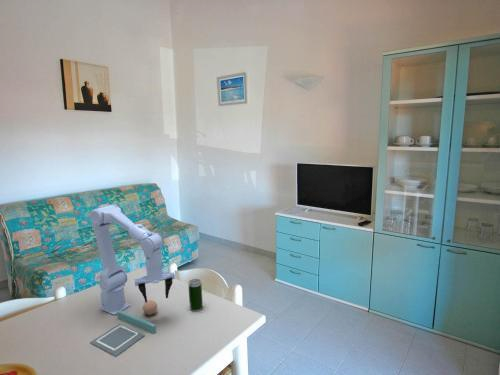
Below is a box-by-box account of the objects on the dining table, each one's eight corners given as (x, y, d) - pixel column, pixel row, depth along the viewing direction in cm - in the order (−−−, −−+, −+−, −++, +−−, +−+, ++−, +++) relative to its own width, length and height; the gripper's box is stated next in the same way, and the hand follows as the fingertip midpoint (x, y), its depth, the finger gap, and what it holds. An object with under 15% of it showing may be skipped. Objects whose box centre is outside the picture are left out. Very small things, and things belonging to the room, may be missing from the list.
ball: (140, 315, 124) (139, 302, 123) (151, 308, 129) (150, 296, 128) (150, 319, 121) (149, 306, 120) (160, 312, 126) (159, 299, 125)
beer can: (192, 313, 125) (191, 286, 123) (187, 307, 129) (186, 280, 127) (204, 309, 128) (203, 282, 126) (199, 303, 132) (198, 277, 130)
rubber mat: (90, 343, 108) (89, 340, 108) (119, 324, 118) (119, 322, 118) (116, 356, 101) (115, 354, 101) (144, 336, 111) (144, 333, 111)
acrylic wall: (117, 318, 122) (117, 311, 122) (120, 317, 123) (119, 310, 123) (153, 333, 112) (153, 326, 112) (156, 332, 113) (155, 324, 113)
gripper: (134, 273, 109) (137, 308, 112) (175, 266, 115) (177, 300, 117) (133, 266, 116) (136, 299, 118) (172, 259, 121) (174, 291, 124)
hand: (156, 299), depth 118 cm, fingers open, 7 cm apart
